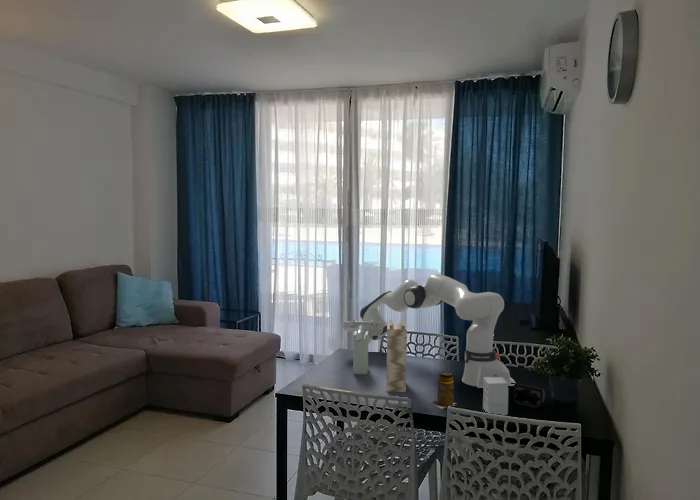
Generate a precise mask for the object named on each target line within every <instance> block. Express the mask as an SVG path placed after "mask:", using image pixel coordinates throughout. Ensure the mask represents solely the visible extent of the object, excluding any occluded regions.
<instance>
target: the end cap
mask: <svg viewBox="0 0 700 500" xmlns="http://www.w3.org/2000/svg"><path fill="white" fill-rule="evenodd" d="M545 392H546V391H545V389H544V388H540V387H535V386H530V385H525V384H520V383H517V384H516V387H515V389H514V391H513V393H514V394H515V395H514V396H513V401H514V402H515V401H517V402H520V403H522V402H523V401H528V402H530V403H529V405H534V406H537V405H538V404H540V403H543V402H545V399H546V393H545ZM543 404H544V403H543Z"/></svg>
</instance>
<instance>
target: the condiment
mask: <svg viewBox="0 0 700 500" xmlns="http://www.w3.org/2000/svg"><path fill="white" fill-rule="evenodd" d="M453 377H454V375H453V373H452V372H450V371H439V374H438V379H437V399H436V400H433V401H429V402H428V403H429V404H431V405H433V406H435V407H436V408H439V409H446V407H447V406H451V407H454V406H455V407H456V405H455V404H457V403H456V402H454V383H455V382H454V378H453ZM447 408H448V407H447Z"/></svg>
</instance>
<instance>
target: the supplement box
mask: <svg viewBox="0 0 700 500" xmlns="http://www.w3.org/2000/svg"><path fill="white" fill-rule="evenodd" d="M482 390H483V393H482V394H483V396H482V410H483V409H484V410H485V412H488V413H494V414H501V415H507V414H509V388H508V383H507V381H506V380H504V379H503V378H502V377H484V378H483V389H482ZM484 410H483V411H484ZM485 412H484V413H485Z"/></svg>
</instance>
